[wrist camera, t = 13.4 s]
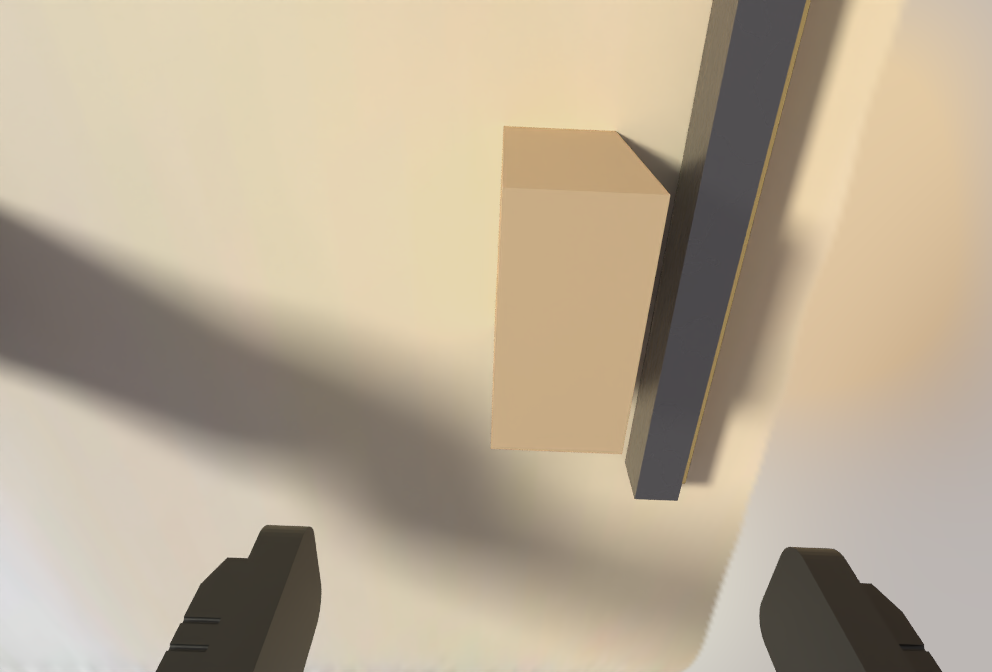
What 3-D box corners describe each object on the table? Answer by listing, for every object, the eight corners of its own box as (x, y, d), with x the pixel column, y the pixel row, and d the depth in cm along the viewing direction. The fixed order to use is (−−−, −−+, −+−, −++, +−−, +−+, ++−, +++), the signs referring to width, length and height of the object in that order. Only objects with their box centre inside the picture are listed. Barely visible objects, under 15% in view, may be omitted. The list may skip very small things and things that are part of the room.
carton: (595, 328, 31) (629, 454, 23) (494, 324, 31) (490, 448, 23) (622, 131, 26) (680, 195, 18) (503, 125, 26) (502, 187, 18)
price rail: (669, 464, 36) (682, 500, 33) (625, 462, 36) (634, 498, 33) (808, -114, 22) (849, -130, 19) (735, -118, 22) (766, -133, 19)
